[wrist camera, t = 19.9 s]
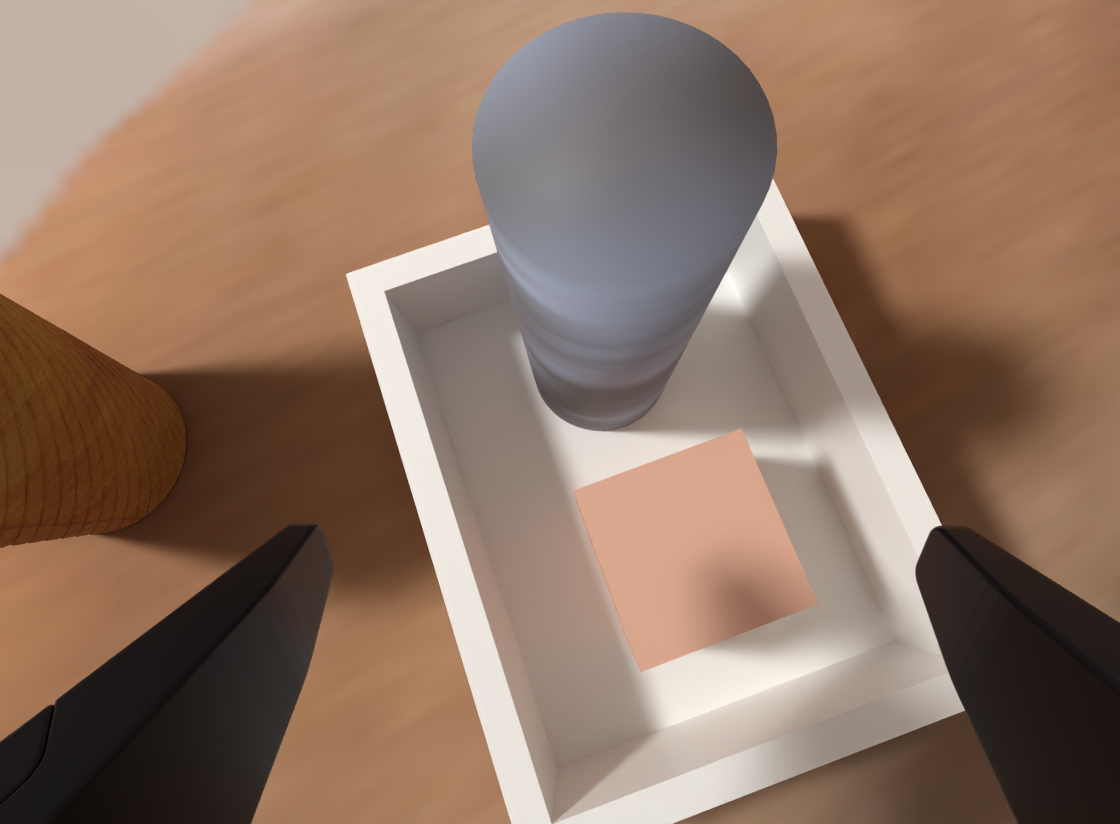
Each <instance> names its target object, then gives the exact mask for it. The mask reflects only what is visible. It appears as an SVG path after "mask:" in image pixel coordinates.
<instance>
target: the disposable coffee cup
mask: <svg viewBox="0 0 1120 824" xmlns="http://www.w3.org/2000/svg"><path fill="white" fill-rule="evenodd" d="M185 452H186V430H185V423H184V421H183V418H182V415H181V413H180V410H179V408H178V406H177V405H176V403H175V402H174V400H173V399H172V397H171V396H170V395H169V394H168V393H167V392H166V391H165V390H164V389H163V388H162V387H160V386H159V385H157V384H156V383H154V382H152V381H151V380H149V379H147V378H145V377H143V376H141V375H140V374H138V373H136V372H134V371H133V370H131V369H129V368H128V367H126V366H124V365H122V364H120V363H119V362H117V361H115V360H114V359H112V358H110V357H108V356H107V355H105V354H103V353H102V352H100V351H98V350H96V349H95V348H93V347H91V346H90V345H88V344H86V343H84V342H83V341H81V340H79V339H78V338H76V337H74V336H72V335H71V334H69V333H67V332H66V331H64V330H62V329H60V328H58V327H57V326H55V325H53V324H52V323H50V322H48V321H46V320H44V319H43V318H41V317H39V316H38V315H36V314H34V313H33V312H31V311H29V310H27V309H25V308H24V307H22V306H20V305H19V304H17V303H15V302H14V301H12V300H10V299H8V298H7V297H5V296H3V295H2V294H0V548H3V547H6V546H8V545H20V544H25V543H34V542H40V541H43V540H45V541H48V540H54V539H59V538H61V539H63V538H69V537H74V536H76V537H77V536H84V535H88V534H90V535H91V534H99V533H107V532H112V531H116V530H120V529H123V528H125V527H127V526H129V525H131V524H134V523H136V522H138V521H139V520H141V519H142V518H143V517H145V516H146V515H147V514H149V513H150V512H151V511H153V510H154V509H155V508H156V507H157V506H158V505H159V504H160V503H161V502H162V501H163V500H164V499H165V497H166V496H167V495H168V493H169V492H170V490H171V489H172V487H173V486H174V484H175V482H176V480H177V478H178V476H179V474H180V471H181V469H182V465H183V461H184V458H185Z"/></svg>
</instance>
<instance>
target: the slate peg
mask: <svg viewBox="0 0 1120 824" xmlns="http://www.w3.org/2000/svg"><path fill="white" fill-rule="evenodd" d="M776 156H777V135H776V129H775V123H774V118H773V114H772V111H771V108H770V105H769V102H768V100H767V98H766V96H765V94H764V92H763V90H762V88H761V86H760V84H759V82H758V81H757V80H756V78H755V77H754V75H753V74H752V72H751V71H750V69H749V68H748V67H747V66H746V65H745V64H744V63H743V62H742V61H741V60H740V58H739V57H738V56H737V55H735V54H734V53H733V52H732V51H731V50H730V49H728V48H727V47H726V46H725V45H724V44H722V43H721V42H719V41H718V40H716V39H715V38H713V37H712V36H710V35H709V34H707V33H705V32H703V31H701V30H699V29H697V28H695V27H693V26H690V25H688V24H685V23H682V22H679V21H677V20H674V19H670V18H665V17H661V16H657V15H650V14H642V13H608V14H598V15H594V16H589V17H584V18H580V19H577V20H574V21H571V22H568V23H565V24H562V25H560V26H558V27H555V28H553V29H551V30H549V31H547V32H545V33H543V34H542V35H540V36H538V37H537V38H535V39H533V40H532V41H530V42H529V43H528V44H526V45H525V46H524V47H523V48H521V49H520V50H519V51H518V52H516V53H515V54H514V55H513V56H512V57H511V58H510V59H509V60H508V61H507V62H506V63H505V64H504V65H503V67H502V68H501V69H500V71H499V72H498V73H497V75H496V76H495V77H494V79H493V80H492V82H491V83H490V85H489V87H488V89H487V90H486V92H485V94H484V96H483V99H482V101H481V104H480V106H479V109H478V111H477V115H476V119H475V124H474V128H473V138H472V158H473V167H474V171H475V176H476V181H477V184H478V188H479V191H480V195H481V198H482V201H483V205H484V208H485V212H486V215H487V219H488V222H489V225H490V229H491V232H492V236H493V239H494V243H495V246H496V249H497V253H498V256H499V260H500V263H501V266H502V270H503V273H504V277H505V280H506V284H507V287H508V290H509V294H510V297H511V301H512V304H513V308H514V311H515V314H516V318H517V321H518V325H519V328H520V332H521V335H522V338H523V342H524V345H525V349H526V352H527V356H528V359H529V362H530V366H531V369H532V373H533V376H534V379H535V383H536V386H537V389H538V391H539V393H540V395H541V397H542V399H543V400H544V402H545V403H546V405H547V406H548V407H549V408H550V409H551V410H552V411H553V413H555V414H556V415H557V416H558V417H559V418H561V419H562V420H564V421H566V422H567V423H569V424H571V425H574V426H576V427H579V428H582V429H587V430H592V431H608V430H614V429H619V428H622V427H625V426H628V425H630V424H632V423H634V422H635V421H637V420H638V419H640V418H641V417H643V416H644V415H645V414H646V413H647V412H648V411H649V410H650V409H651V408H652V407H653V406H654V405H655V403H656V402H657V400H658V399H659V397H660V395H661V393H662V391H663V390H664V388H665V386H666V384H667V382H668V380H669V378H670V376H671V375H672V373H673V371H674V369H675V367H676V365H677V363H678V361H679V360H680V358H681V356H682V354H683V352H684V350H685V348H686V346H687V345H688V343H689V341H690V339H691V337H692V335H693V333H694V332H695V330H696V328H697V326H698V324H699V322H700V320H701V318H702V317H703V315H704V313H705V311H706V309H707V307H708V305H709V303H710V302H711V300H712V298H713V296H714V294H715V292H716V290H717V288H718V287H719V285H720V283H721V281H722V279H723V277H724V275H725V274H726V272H727V270H728V268H729V266H730V264H731V262H732V260H733V259H734V257H735V255H736V253H737V251H738V249H739V247H740V245H741V244H742V242H743V240H744V238H745V236H746V234H747V232H748V230H749V229H750V227H751V225H752V223H753V221H754V219H755V217H756V216H757V214H758V212H759V210H760V208H761V206H762V204H763V202H764V200H765V198H766V195H767V193H768V191H769V189H770V186H771V182H772V178H773V175H774V171H775V164H776Z"/></svg>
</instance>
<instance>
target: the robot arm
mask: <svg viewBox="0 0 1120 824" xmlns="http://www.w3.org/2000/svg"><path fill="white" fill-rule="evenodd" d="M332 576H333V560H332V557H331V554H330V551H329V547H328V544H327V541H326V538H325V535H324V532H323V529H322V527H321V526H320V525H319V524H317V523H292V524H289V525H288V526H286V527H285V528H283V529H282V530H281V531H279V532H278V533H277V534H275V535H274V536H273V537H271V538H270V539H269V540H267V541H266V542H265V543H263V544H262V545H261V546H259V547H258V548H257V549H256V550H254V551H253V552H252V553H250V554H249V555H248V556H246V557H245V558H244V559H242V560H241V561H240V562H238V563H237V564H236V565H234V566H233V567H232V568H230V569H229V570H228V571H226V572H225V573H224V574H222V575H221V576H220V577H218V578H217V579H216V580H214V581H213V582H212V583H210V584H209V585H208V586H206V587H205V588H204V589H202V590H201V591H200V592H199V593H197V594H196V595H195V596H193V597H192V598H191V599H189V600H188V601H187V602H185V603H184V604H183V605H181V606H180V607H179V608H177V609H176V610H175V611H173V612H172V613H171V614H169V615H168V616H167V617H165V618H164V619H163V620H161V621H160V622H159V623H157V624H156V625H155V626H153V627H152V628H151V629H149V630H148V631H147V632H146V633H144V634H143V635H142V636H140V637H139V638H138V639H136V640H135V641H134V642H132V643H131V644H130V645H128V646H127V647H126V648H124V649H123V650H122V651H120V652H119V653H118V654H116V655H115V656H114V657H112V658H111V659H110V660H108V661H107V662H106V663H104V664H103V665H102V666H100V667H99V668H98V669H96V670H95V671H94V672H93V673H91V674H90V675H89V676H87V677H86V678H85V679H83V680H82V681H81V682H79V683H78V684H77V685H75V686H74V687H73V688H71V689H70V690H69V691H67V692H66V693H65V694H63V695H62V696H61V697H59V698H58V699H57V700H56V702H55V705H49V706H47V707H46V708H45V709H43V710H42V711H41V712H39V713H38V714H37V715H35V716H34V717H33V718H31V719H30V720H29V721H27V722H26V723H25V724H23V725H22V726H21V727H19V728H18V729H17V730H15V731H14V732H13V733H11V734H10V735H8V736H7V737H6V738H4V739H3V740H2V741H0V824H251V822H252V820H253V817H254V814H255V812H256V809H257V806H258V804H259V801H260V798H261V796H262V793H263V790H264V788H265V785H266V783H267V780H268V777H269V775H270V772H271V769H272V767H273V764H274V761H275V759H276V756H277V753H278V751H279V748H280V745H281V743H282V740H283V737H284V735H285V732H286V729H287V727H288V724H289V721H290V719H291V716H292V713H293V711H294V708H295V705H296V703H297V700H298V697H299V695H300V692H301V690H302V687H303V684H304V681H305V678H306V675H307V672H308V669H309V665H310V662H311V658H312V655H313V651H314V647H315V643H316V639H317V635H318V631H319V628H320V624H321V620H322V616H323V612H324V608H325V604H326V600H327V596H328V592H329V588H330V585H331V581H332ZM915 576H916V581H917V584H918V587H919V590H920V593H921V596H922V599H923V602H924V605H925V608H926V610H927V613H928V616H929V619H930V622H931V625H932V628H933V631H934V634H935V636H936V639H937V642H938V645H939V648H940V651H941V654H942V657H943V660H944V662H945V665H946V668H947V670H948V673H949V676H950V678H951V681H952V683H953V685H954V688H955V690H956V692H957V694H958V697H959V699H960V701H961V703H962V705H963V707H964V710H965V712H966V714H967V716H968V718H969V720H970V722H971V724H972V727H973V729H974V731H975V733H976V735H977V737H978V739H979V742H980V744H981V746H982V748H983V750H984V752H985V754H986V756H987V759H988V761H989V763H990V765H991V767H992V769H993V771H994V774H995V776H996V778H997V780H998V782H999V784H1000V786H1001V788H1002V791H1003V793H1004V795H1005V797H1006V799H1007V801H1008V803H1009V806H1010V808H1011V810H1012V812H1013V814H1014V816H1015V818H1016V820H1017V823H1018V824H1120V623H1119V622H1118V621H1116V620H1115V619H1113V618H1111V617H1110V616H1108V615H1107V614H1105V613H1103V612H1102V611H1100V610H1099V609H1097V608H1096V607H1094V606H1092V605H1091V604H1089V603H1088V602H1086V601H1084V600H1083V599H1081V598H1080V597H1078V596H1076V595H1075V594H1073V593H1072V592H1070V591H1068V590H1067V589H1065V588H1064V587H1062V586H1061V585H1059V584H1057V583H1056V582H1054V581H1053V580H1051V579H1049V578H1048V577H1046V576H1045V575H1043V574H1042V573H1040V572H1038V571H1037V570H1035V569H1034V568H1032V567H1030V566H1029V565H1027V564H1026V563H1024V562H1022V561H1021V560H1019V559H1018V558H1016V557H1015V556H1013V555H1011V554H1010V553H1008V552H1007V551H1005V550H1003V549H1002V548H1000V547H999V546H997V545H995V544H994V543H992V542H991V541H989V540H988V539H986V538H984V537H983V536H981V535H980V534H978V533H976V532H975V531H973V530H972V529H970V528H968V527H965V526H936V527H934V528H933V529H932V530H931V531H930V533H929V535H928V537H927V540H926V542H925V545H924V547H923V549H922V552H921V554H920V556H919V559H918V561H917V564H916V568H915Z"/></svg>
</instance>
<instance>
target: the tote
mask: <svg viewBox="0 0 1120 824" xmlns="http://www.w3.org/2000/svg"><path fill="white" fill-rule="evenodd" d="M346 276H347V279H348V283H349V286H350V289H351V293H352V296H353V299H354V303H355V306H356V309H357V312H358V316H359V319H360V322H361V326H362V329H363V332H364V336H365V339H366V342H367V346H368V349H369V352H370V356H371V359H372V362H373V366H374V369H375V372H376V376H377V379H378V382H379V385H380V389H381V392H382V395H383V399H384V402H385V405H386V409H387V412H388V415H389V419H390V422H391V425H392V429H393V432H394V435H395V439H396V442H397V445H398V449H399V452H400V455H401V459H402V462H403V465H404V468H405V472H406V475H407V478H408V482H409V485H410V488H411V492H412V495H413V498H414V502H415V505H416V508H417V512H418V515H419V518H420V522H421V525H422V528H423V532H424V535H425V538H426V542H427V545H428V548H429V551H430V555H431V558H432V561H433V565H434V568H435V571H436V575H437V578H438V581H439V585H440V588H441V591H442V595H443V598H444V601H445V605H446V608H447V611H448V615H449V618H450V621H451V624H452V628H453V631H454V634H455V638H456V641H457V644H458V648H459V651H460V654H461V658H462V661H463V664H464V668H465V671H466V674H467V678H468V681H469V684H470V688H471V691H472V694H473V698H474V701H475V704H476V707H477V711H478V714H479V717H480V721H481V724H482V727H483V731H484V734H485V737H486V741H487V744H488V747H489V751H490V754H491V757H492V761H493V764H494V767H495V771H496V774H497V777H498V780H499V784H500V787H501V790H502V794H503V797H504V800H505V804H506V807H507V810H508V814H509V817H510V820H511V824H673V823H675V822H678V821H680V820H683V819H685V818H688V817H691V816H693V815H696V814H698V813H701V812H704V811H706V810H709V809H711V808H714V807H717V806H719V805H722V804H724V803H727V802H729V801H732V800H735V799H737V798H740V797H742V796H745V795H748V794H750V793H753V792H755V791H758V790H761V789H763V788H766V787H768V786H771V785H773V784H776V783H779V782H781V781H784V780H786V779H789V778H792V777H794V776H797V775H799V774H802V773H805V772H807V771H810V770H812V769H815V768H817V767H820V766H823V765H825V764H828V763H830V762H833V761H836V760H838V759H841V758H843V757H846V756H849V755H851V754H854V753H856V752H859V751H862V750H864V749H867V748H869V747H872V746H874V745H877V744H880V743H882V742H885V741H887V740H890V739H893V738H895V737H898V736H900V735H903V734H906V733H908V732H911V731H913V730H916V729H918V728H921V727H924V726H926V725H929V724H931V723H934V722H937V721H939V720H942V719H944V718H947V717H950V716H952V715H955V714H957V713H960V712H962V711H965V710H964V707H963V705H962V703H961V701H960V699H959V697H958V694H957V692H956V690H955V688H954V685H953V683H952V681H951V678H950V676H949V673H948V670H947V668H946V665H945V662H944V660H943V657H942V654H941V651H940V648H939V645H938V642H937V639H936V636H935V634H934V631H933V628H932V625H931V622H930V619H929V616H928V613H927V610H926V608H925V605H924V602H923V599H922V596H921V593H920V590H919V587H918V584H917V581H916V576H915V568H916V564H917V561H918V559H919V556H920V554H921V552H922V549H923V547H924V545H925V542H926V540H927V537H928V535H929V533H930V531H931V530H932V529H933V528H934V527H936V526H942V525H941V523H940V521H939V518H938V516H937V514H936V512H935V510H934V508H933V506H932V504H931V502H930V500H929V498H928V496H927V494H926V492H925V490H924V488H923V486H922V484H921V482H920V480H919V477H918V475H917V473H916V471H915V469H914V467H913V465H912V463H911V461H910V459H909V457H908V455H907V453H906V451H905V449H904V447H903V445H902V443H901V441H900V438H899V436H898V434H897V432H896V430H895V428H894V426H893V424H892V422H891V420H890V418H889V416H888V414H887V412H886V410H885V408H884V406H883V404H882V402H881V399H880V397H879V395H878V393H877V391H876V389H875V387H874V385H873V383H872V381H871V379H870V377H869V375H868V373H867V371H866V369H865V367H864V365H863V363H862V361H861V358H860V356H859V354H858V352H857V350H856V348H855V346H854V344H853V342H852V340H851V338H850V336H849V334H848V332H847V330H846V328H845V326H844V324H843V322H842V319H841V317H840V315H839V313H838V311H837V309H836V307H835V305H834V303H833V301H832V299H831V297H830V295H829V293H828V291H827V289H826V287H825V285H824V283H823V280H822V278H821V276H820V274H819V272H818V270H817V268H816V266H815V264H814V262H813V260H812V258H811V256H810V254H809V252H808V250H807V248H806V246H805V244H804V242H803V239H802V237H801V235H800V233H799V231H798V229H797V227H796V225H795V223H794V221H793V219H792V217H791V215H790V213H789V211H788V209H787V207H786V205H785V203H784V200H783V198H782V196H781V194H780V192H779V190H778V188H777V186H776V184H775V182H774V180H773V178H772V182H771V186H770V189H769V191H768V193H767V195H766V198H765V200H764V202H763V204H762V206H761V208H760V210H759V212H758V214H757V216H756V217H755V219H754V221H753V223H752V225H751V227H750V229H749V230H748V232H747V234H746V236H745V238H744V240H743V242H742V244H741V245H740V247H739V249H738V251H737V253H736V255H735V257H734V259H733V260H732V262H731V264H730V266H729V268H728V270H727V272H726V274H725V275H724V277H723V279H722V281H721V283H720V285H719V287H718V288H717V290H716V292H715V294H714V296H713V298H712V300H711V302H710V303H709V305H708V307H707V309H706V311H705V313H704V315H703V317H702V318H701V320H700V322H699V324H698V326H697V328H696V330H695V332H694V333H693V335H692V337H691V339H690V341H689V343H688V345H687V346H686V348H685V350H684V352H683V354H682V356H681V358H680V360H679V361H678V363H677V365H676V367H675V369H674V371H673V373H672V375H671V376H670V378H669V380H668V382H667V384H666V386H665V388H664V390H663V391H662V393H661V395H660V397H659V399H658V400H657V402H656V403H655V405H654V406H653V407H652V408H651V409H650V410H649V411H648V412H647V413H646V414H645V415H644V416H643V417H641V418H640V419H638V420H637V421H635V422H634V423H632V424H630V425H628V426H625V427H622V428H619V429H614V430H608V431H592V430H587V429H582V428H579V427H576V426H574V425H571V424H569V423H567V422H566V421H564V420H562V419H561V418H559V417H558V416H557V415H556V414H555V413H553V411H552V410H551V409H550V408H549V407H548V406H547V405H546V403H545V402H544V400H543V399H542V397H541V395H540V393H539V391H538V389H537V386H536V383H535V379H534V376H533V373H532V369H531V366H530V362H529V359H528V356H527V352H526V349H525V345H524V342H523V338H522V335H521V332H520V328H519V325H518V321H517V318H516V314H515V311H514V308H513V304H512V301H511V297H510V294H509V290H508V287H507V284H506V280H505V277H504V273H503V270H502V266H501V263H500V260H499V256H498V253H497V249H496V246H495V243H494V239H493V236H492V232H491V229H490V225H487V226H484V227H481V228H479V229H476V230H473V231H470V232H467V233H464V234H461V235H458V236H455V237H452V238H449V239H446V240H444V241H441V242H438V243H435V244H432V245H429V246H426V247H423V248H420V249H417V250H414V251H411V252H409V253H406V254H403V255H400V256H397V257H394V258H391V259H388V260H385V261H382V262H379V263H376V264H374V265H371V266H368V267H365V268H362V269H359V270H356V271H353V272H350V273H347V274H346ZM739 429H742V431H743V433H744V435H745V438H746V440H747V442H748V445H749V447H750V449H751V451H752V454H753V456H754V458H755V460H756V463H757V465H758V467H759V470H760V472H761V474H762V476H763V479H764V481H765V483H766V486H767V488H768V490H769V492H770V495H771V497H772V499H773V502H774V504H775V506H776V508H777V511H778V513H779V515H780V518H781V520H782V522H783V524H784V527H785V529H786V531H787V534H788V536H789V538H790V540H791V543H792V545H793V547H794V549H795V552H796V554H797V556H798V559H799V561H800V563H801V565H802V568H803V570H804V572H805V575H806V577H807V579H808V581H809V584H810V586H811V588H812V591H813V593H814V595H815V597H816V600H817V602H818V604H817V605H815V606H812V607H810V608H807V609H804V610H802V611H799V612H797V613H794V614H791V615H789V616H786V617H783V618H781V619H778V620H776V621H773V622H770V623H768V624H765V625H763V626H760V627H757V628H755V629H752V630H750V631H747V632H744V633H742V634H739V635H737V636H734V637H731V638H729V639H726V640H724V641H721V642H718V643H716V644H713V645H710V646H708V647H705V648H703V649H700V650H697V651H695V652H692V653H690V654H687V655H684V656H682V657H679V658H677V659H674V660H671V661H669V662H666V663H664V664H661V665H658V666H656V667H653V668H650V669H648V670H645V671H643V672H640V670H639V668H638V665H637V663H636V661H635V659H634V656H633V654H632V652H631V650H630V648H629V645H628V643H627V641H626V638H625V635H624V632H623V630H622V627H621V624H620V622H619V619H618V616H617V613H616V611H615V608H614V605H613V602H612V600H611V597H610V594H609V592H608V589H607V586H606V583H605V581H604V578H603V575H602V572H601V570H600V567H599V564H598V562H597V559H596V556H595V553H594V551H593V548H592V545H591V542H590V540H589V537H588V534H587V532H586V529H585V526H584V523H583V521H582V518H581V515H580V512H579V510H578V507H577V504H576V501H575V495H574V490H576V489H579V488H582V487H584V486H587V485H590V484H593V483H595V482H598V481H601V480H603V479H606V478H609V477H611V476H614V475H617V474H620V473H622V472H625V471H628V470H630V469H633V468H636V467H639V466H641V465H644V464H647V463H649V462H652V461H655V460H657V459H660V458H663V457H666V456H668V455H671V454H674V453H676V452H679V451H682V450H685V449H687V448H690V447H693V446H695V445H698V444H701V443H704V442H706V441H709V440H712V439H714V438H717V437H720V436H722V435H725V434H728V433H731V432H733V431H736V430H739Z"/></svg>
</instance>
